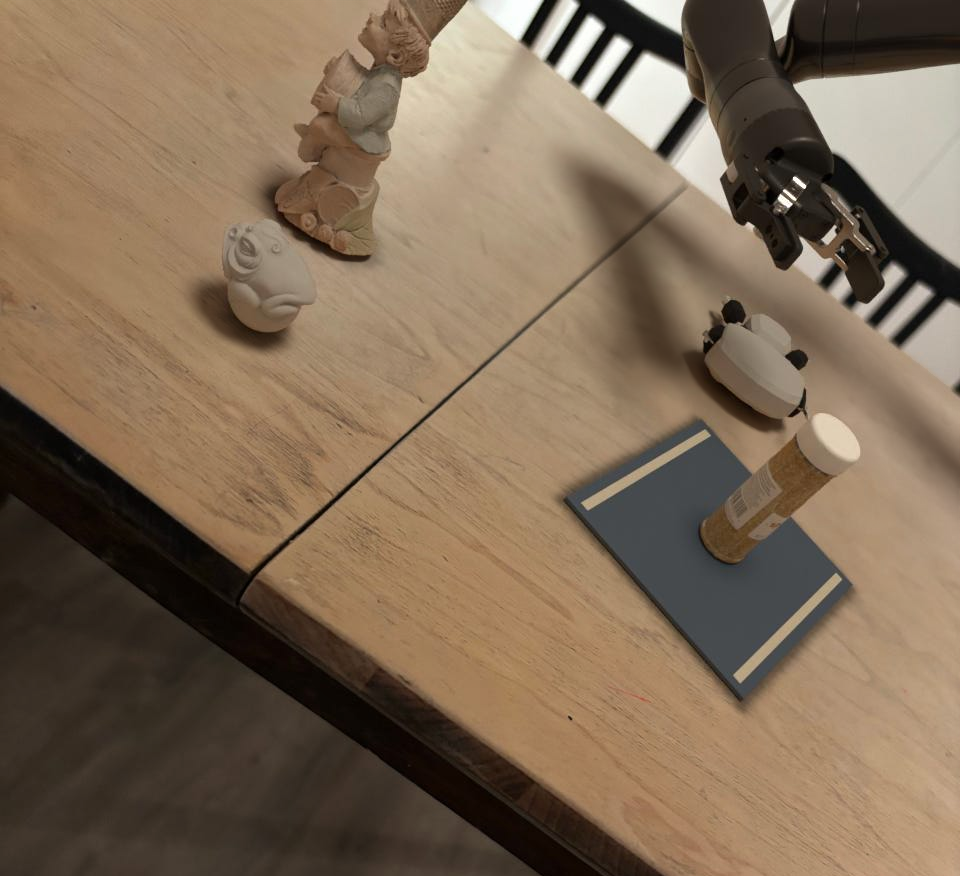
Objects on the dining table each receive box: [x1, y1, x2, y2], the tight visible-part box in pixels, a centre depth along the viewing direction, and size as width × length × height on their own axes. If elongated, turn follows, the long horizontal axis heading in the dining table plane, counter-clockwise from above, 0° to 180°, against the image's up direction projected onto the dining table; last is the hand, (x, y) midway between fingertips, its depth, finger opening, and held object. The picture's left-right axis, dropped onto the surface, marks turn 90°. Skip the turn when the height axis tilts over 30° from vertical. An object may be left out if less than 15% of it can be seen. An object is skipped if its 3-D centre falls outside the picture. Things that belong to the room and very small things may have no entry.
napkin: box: [563, 418, 853, 702], centre depth 80 cm, size 22×20×1 cm
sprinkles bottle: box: [700, 412, 861, 563], centre depth 75 cm, size 5×5×14 cm
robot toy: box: [701, 294, 811, 421], centre depth 96 cm, size 12×4×15 cm
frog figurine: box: [221, 218, 318, 333], centre depth 66 cm, size 6×7×7 cm
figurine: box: [274, 0, 469, 256], centre depth 71 cm, size 9×8×20 cm
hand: (833, 278), depth 74 cm, fingers open, 8 cm apart
